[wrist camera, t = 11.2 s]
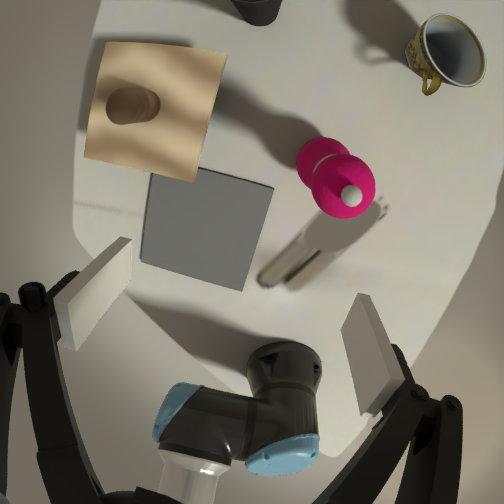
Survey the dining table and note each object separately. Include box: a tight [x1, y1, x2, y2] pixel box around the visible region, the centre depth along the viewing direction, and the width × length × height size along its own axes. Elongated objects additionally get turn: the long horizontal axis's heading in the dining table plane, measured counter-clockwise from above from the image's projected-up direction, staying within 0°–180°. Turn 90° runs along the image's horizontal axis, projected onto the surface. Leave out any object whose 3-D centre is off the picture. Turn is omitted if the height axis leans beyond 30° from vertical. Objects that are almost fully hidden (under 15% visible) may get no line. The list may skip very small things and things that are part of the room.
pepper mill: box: [297, 137, 375, 219], centre depth 31 cm, size 7×7×20 cm
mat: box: [141, 168, 274, 292], centre depth 46 cm, size 18×18×1 cm
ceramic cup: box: [404, 13, 486, 96], centre depth 28 cm, size 13×10×10 cm
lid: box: [84, 42, 228, 183], centre depth 29 cm, size 16×16×7 cm
